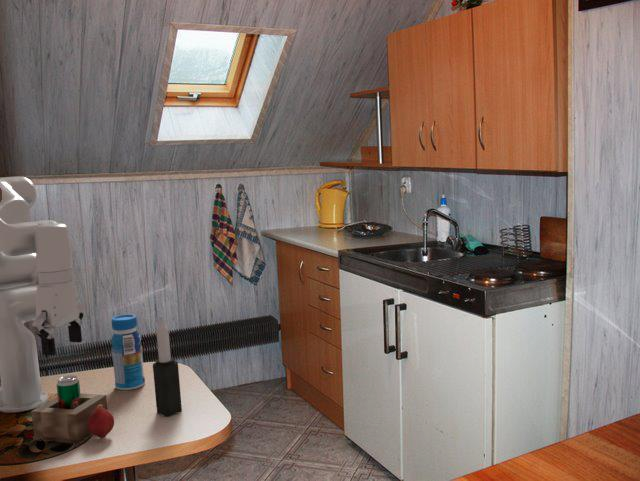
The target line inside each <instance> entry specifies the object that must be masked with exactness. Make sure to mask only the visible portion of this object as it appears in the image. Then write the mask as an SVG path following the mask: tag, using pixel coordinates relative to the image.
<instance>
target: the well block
mask: <svg viewBox="0 0 640 481" xmlns="http://www.w3.org/2000/svg"><path fill="white" fill-rule="evenodd" d="M80 394H81V403H82V404H81V405H80V406H78V407H76V408H75V409H59V403H58V395H57V396H56V397H54V398H52V399H51V400H48V401H47V402H46V403H45V404H43V405H41V406H39V407H37V408H34V409H32V410H31V411H30V413H31V420H32V421H31V422H32V427H33V428H32V430H33V437H34V440H35V439H41V440H40V441H42V440H45V441H46V442H53V441H56V442H55V443H65V444H66V443H67V444H77V445H78V444H80V443H82V442H83V441H85V440H87V438H89V437H91V436H93V434H91V432H90V431H89V429H88V419H89V417H90V415H91V414H92V412H93V411H94V410H96V409H97V407H98V406H99V405H103V408H104V409H106V410H108V411H109V408H108V407H109V405H108V398H107V397H108V396H107V394H95V393H81V392H80ZM45 441H44V442H45Z"/></svg>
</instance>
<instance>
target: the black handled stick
mask: <svg viewBox="0 0 640 481" xmlns="http://www.w3.org/2000/svg"><path fill="white" fill-rule="evenodd" d="M155 332H156V341H157V354H158V359H156V360H155V362H153V364H152V373H153V384H154V391H155V393H154V395H155V403H156V404H155V406H156V414H158V415H162V416H163V417H165V418H167V417H171V416H174V415H176V414H180V413H181V412H182V411H183V407H182V397H181V382H180V371H179V362H178V361H176V360H175V358H172V356H171V346H170V345H171V344H170V334H169V327H168V326H167V324H166V323H165V320H164V316H163V315H159V322H158V325H157V327H156V329H155Z"/></svg>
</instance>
